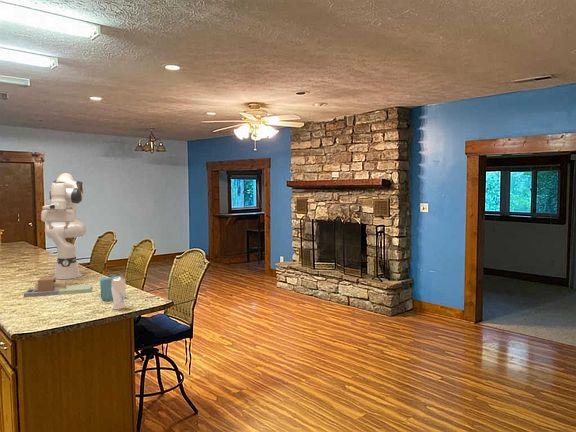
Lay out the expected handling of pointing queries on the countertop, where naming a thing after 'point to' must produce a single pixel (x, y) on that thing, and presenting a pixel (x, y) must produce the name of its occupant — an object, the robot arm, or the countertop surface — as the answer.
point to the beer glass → (118, 292)
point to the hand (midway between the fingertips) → (58, 229)
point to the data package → (107, 288)
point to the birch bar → (55, 285)
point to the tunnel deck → (48, 289)
